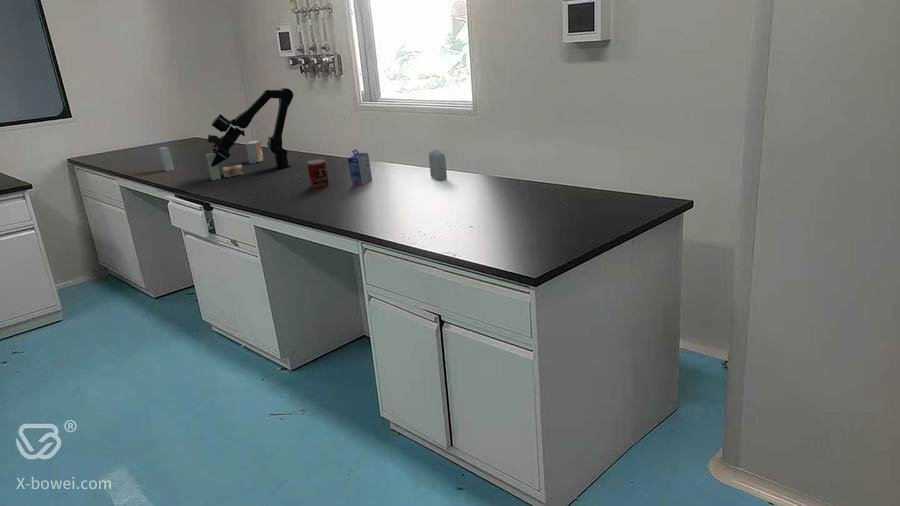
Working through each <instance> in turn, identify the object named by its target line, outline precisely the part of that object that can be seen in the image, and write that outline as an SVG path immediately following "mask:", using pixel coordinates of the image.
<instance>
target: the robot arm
mask: <svg viewBox="0 0 900 506" xmlns="http://www.w3.org/2000/svg"><path fill="white" fill-rule="evenodd" d="M271 99H278V108H277V113H276V120H275V124H274V127H273V128H274V130H273V134H272V135H271V136H268V139H267V143H266V145H267V149H268V150H269V151H270V152H272V153H273V154H274V161H275V166H273V168H274V169H278V168H280V170H281V168H282V169H286V168H289V167H292V165H291V164H289V159H288V151H287V150H286V149H284V148H283V131H284V128H285V122H286V119H287V112H288V108H289V106H291V103H292V101H293V99H294V92H293V91H292V90H291V89H289V88H286V87H283V88H281V89H265V90H264V91H263V93H262V94H261V95H260V96H259V97H258V98H257V99H256V100H255V101H254V102H253V103H252V104H251V105H250V106H249V107H248V108H247V109H246V110H245V111H243V112H241V113H240V114H239V115H237V116H235V118H233V119H230V120H229V119H228V118H226V117H224V115H222V114H220V113H219V115H218V116H216V118H214V120H213V121H212V123H211V126H212V127H213V128H214V129H216V130H217V131H219V132H221V133H223V132H224V133H225V134H224V135H222V136H221V137H219V136H217V135H215V134H207V135H208V136H207V140H206V142H207V143H211V144H213V145H212V147H211V148H212V153H215V154H216V156H215V158H214V160H213V162H212V164H211V166H212V167H214V166H215V165H217V164H218V165H219V164H220V163H222V162H223V161H226V160H227V159H229V158H230V157H231V154H230V153H231V152H230V150H231V149H232V147H233V146H235V142H237V141H238V139H239V137H240V136H243V137H246V134H245V130H243V129H246V128H248V127H249V125H250V124H251V122H252V120H253V118H254V117H255V115H256V114H257V113H258V112H259V111H260V110H261V109H262V108H263V107H264V106H265V105H266V104H267V103H268V102H269V100H271Z"/></svg>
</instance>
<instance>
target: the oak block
mask: <svg viewBox="0 0 900 506" xmlns="http://www.w3.org/2000/svg"><path fill="white" fill-rule="evenodd" d="M243 169H244V168H243V165H242V164H237V165H236V164H234V165H229V166H223V167H222V172H223V177H224V178H225V177H229V178H231V177H230V176H235V177H238V176H237V175H242V176H244V175H243V174H244V170H243Z"/></svg>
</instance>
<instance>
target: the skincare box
mask: <svg viewBox="0 0 900 506" xmlns="http://www.w3.org/2000/svg"><path fill="white" fill-rule="evenodd" d="M157 152H158V155H159V159H160V162H161V166H162V169H163V171H165V172H171V171H170V170H172V171H175V167H174V163H173V159H172V156H171V152H170V149H169V147H167V146H163V147H157Z"/></svg>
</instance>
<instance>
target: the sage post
mask: <svg viewBox="0 0 900 506" xmlns="http://www.w3.org/2000/svg"><path fill="white" fill-rule="evenodd" d="M205 156H206V157H205V158H206V160H207V164H208V169H209V175H210V178H211V180H213V181H217V180H216V179H219V180H222V178H221V173H220V168H219V164H217V165H215V166H214V167H212V166H211V164H212V162H213V160H214V158H215V156H216V154H215V153H213V152H211V153H206V154H205Z"/></svg>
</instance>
